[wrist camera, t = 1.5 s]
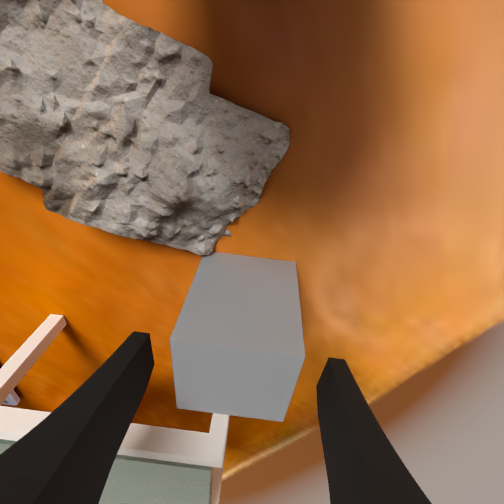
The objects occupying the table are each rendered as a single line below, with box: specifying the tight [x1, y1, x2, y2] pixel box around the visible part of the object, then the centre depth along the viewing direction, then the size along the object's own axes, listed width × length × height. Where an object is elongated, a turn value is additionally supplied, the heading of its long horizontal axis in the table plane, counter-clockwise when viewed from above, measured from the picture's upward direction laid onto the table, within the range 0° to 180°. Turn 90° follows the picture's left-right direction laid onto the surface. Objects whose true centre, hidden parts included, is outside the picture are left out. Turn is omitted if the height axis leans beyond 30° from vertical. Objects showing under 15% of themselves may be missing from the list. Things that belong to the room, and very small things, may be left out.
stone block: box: [170, 252, 305, 422], centre depth 13 cm, size 5×5×6 cm
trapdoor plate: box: [0, 439, 213, 504], centre depth 15 cm, size 12×8×2 cm
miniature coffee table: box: [0, 314, 230, 504], centre depth 17 cm, size 12×11×6 cm
